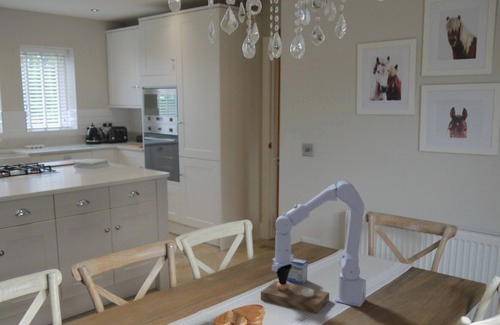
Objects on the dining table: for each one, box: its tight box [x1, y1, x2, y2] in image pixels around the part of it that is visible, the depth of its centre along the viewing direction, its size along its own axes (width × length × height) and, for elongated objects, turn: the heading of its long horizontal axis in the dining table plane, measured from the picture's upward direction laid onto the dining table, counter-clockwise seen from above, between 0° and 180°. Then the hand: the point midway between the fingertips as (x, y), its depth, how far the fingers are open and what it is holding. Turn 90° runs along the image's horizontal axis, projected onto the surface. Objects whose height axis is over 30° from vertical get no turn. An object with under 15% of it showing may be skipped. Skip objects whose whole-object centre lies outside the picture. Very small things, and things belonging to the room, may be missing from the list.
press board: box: [260, 280, 330, 314], centre depth 160 cm, size 22×12×3 cm, turn 60°
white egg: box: [302, 288, 314, 298], centre depth 158 cm, size 4×4×4 cm
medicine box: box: [287, 257, 309, 285], centre depth 178 cm, size 8×4×9 cm, turn 62°
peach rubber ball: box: [277, 281, 290, 291], centre depth 163 cm, size 4×4×4 cm
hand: (282, 283), depth 162 cm, fingers closed, pressing on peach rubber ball
